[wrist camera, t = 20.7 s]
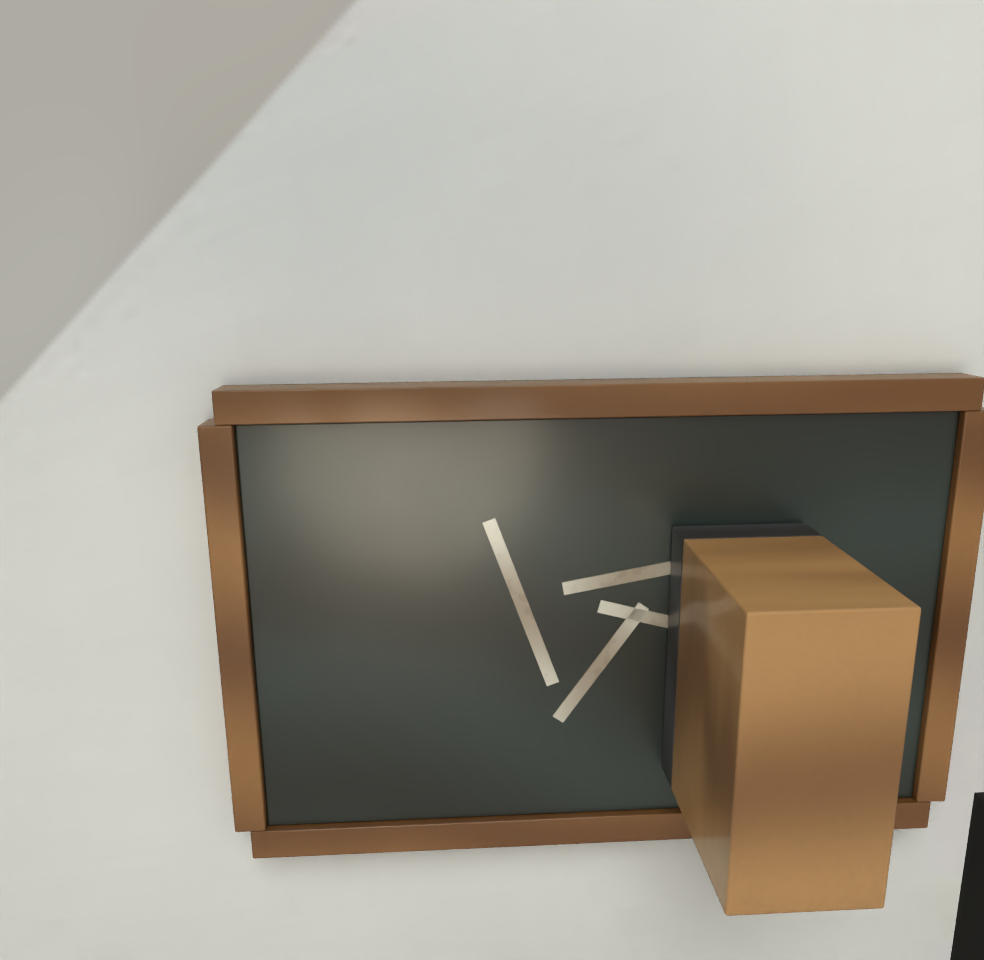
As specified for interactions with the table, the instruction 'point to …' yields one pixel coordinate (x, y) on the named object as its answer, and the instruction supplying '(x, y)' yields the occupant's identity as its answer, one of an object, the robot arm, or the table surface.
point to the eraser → (785, 715)
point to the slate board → (541, 586)
